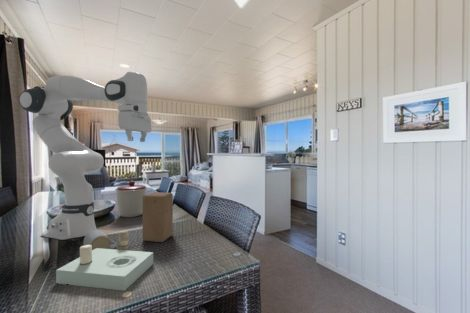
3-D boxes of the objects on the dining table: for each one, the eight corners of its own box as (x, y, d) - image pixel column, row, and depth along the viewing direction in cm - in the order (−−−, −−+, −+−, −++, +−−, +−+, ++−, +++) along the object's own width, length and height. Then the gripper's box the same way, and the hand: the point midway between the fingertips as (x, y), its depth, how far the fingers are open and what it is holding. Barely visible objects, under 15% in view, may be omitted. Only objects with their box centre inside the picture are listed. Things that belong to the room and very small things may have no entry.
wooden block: (162, 243, 100) (162, 196, 100) (141, 241, 102) (141, 195, 102) (173, 235, 110) (173, 192, 109) (153, 233, 112) (153, 191, 111)
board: (56, 283, 69) (56, 253, 69) (96, 259, 85) (96, 234, 85) (124, 290, 66) (124, 258, 66) (153, 263, 82) (153, 238, 81)
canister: (121, 211, 152) (121, 179, 151) (150, 211, 154) (150, 178, 153) (110, 219, 134) (109, 182, 133) (143, 219, 136) (142, 182, 135)
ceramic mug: (90, 257, 86) (90, 236, 86) (82, 251, 91) (83, 231, 91) (120, 249, 94) (120, 230, 94) (111, 244, 99) (111, 225, 99)
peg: (116, 257, 86) (116, 233, 86) (122, 253, 90) (122, 230, 89) (124, 258, 86) (124, 233, 86) (130, 254, 89) (130, 230, 89)
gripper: (142, 113, 114) (142, 142, 114) (115, 105, 94) (115, 140, 94) (154, 113, 113) (155, 142, 113) (129, 105, 93) (129, 140, 93)
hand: (136, 141), depth 103 cm, fingers open, 8 cm apart
